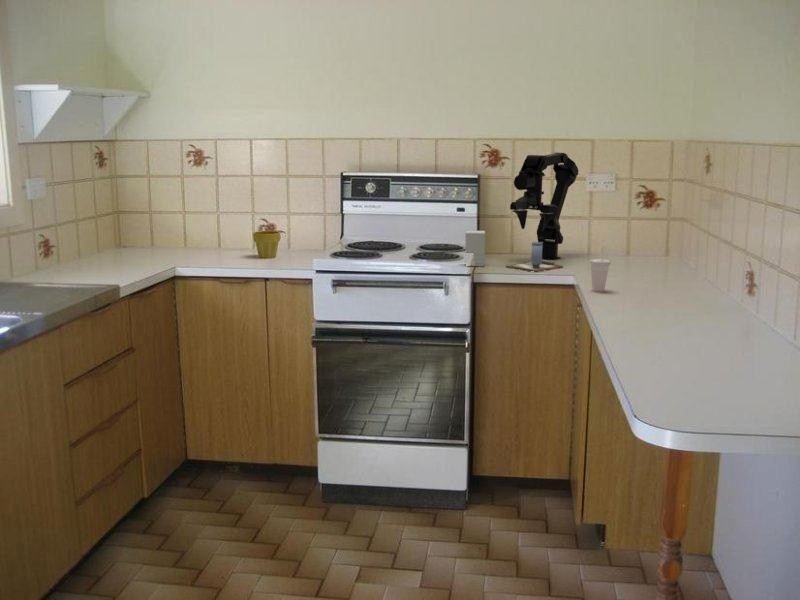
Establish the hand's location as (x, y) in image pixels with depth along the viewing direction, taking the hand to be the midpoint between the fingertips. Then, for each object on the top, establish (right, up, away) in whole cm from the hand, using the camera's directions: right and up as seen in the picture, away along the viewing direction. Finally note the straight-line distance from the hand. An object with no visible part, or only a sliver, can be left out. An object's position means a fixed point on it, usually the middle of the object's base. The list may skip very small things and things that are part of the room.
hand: (532, 230), depth 317 cm
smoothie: (+13, -24, -51) cm, 57 cm away
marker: (-1, -15, -14) cm, 21 cm away
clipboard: (-1, -15, -8) cm, 17 cm away
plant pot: (-102, -10, +9) cm, 103 cm away
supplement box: (-22, -14, -4) cm, 27 cm away
